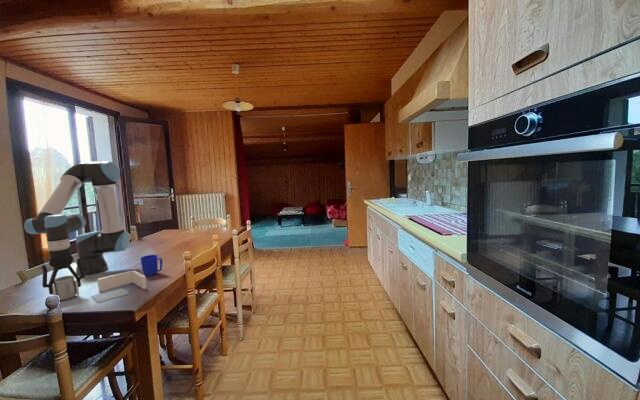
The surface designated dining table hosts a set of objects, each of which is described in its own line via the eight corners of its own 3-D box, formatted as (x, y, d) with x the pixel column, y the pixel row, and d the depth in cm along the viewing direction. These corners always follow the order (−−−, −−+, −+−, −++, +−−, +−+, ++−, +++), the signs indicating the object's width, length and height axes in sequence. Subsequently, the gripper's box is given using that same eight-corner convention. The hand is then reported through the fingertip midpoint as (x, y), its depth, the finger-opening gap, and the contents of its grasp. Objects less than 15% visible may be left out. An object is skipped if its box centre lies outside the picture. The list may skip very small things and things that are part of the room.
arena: (98, 290, 143) (97, 278, 143) (135, 280, 155) (133, 269, 155) (108, 299, 132) (106, 286, 132) (146, 288, 144) (145, 276, 144)
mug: (157, 277, 160) (155, 259, 159) (138, 276, 162) (136, 258, 161) (168, 271, 168) (166, 254, 167) (150, 271, 170) (148, 254, 169)
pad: (91, 296, 137) (91, 295, 137) (121, 288, 146) (121, 287, 146) (98, 303, 129) (97, 302, 129) (129, 293, 138) (129, 293, 138)
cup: (70, 292, 141) (68, 274, 140) (83, 295, 137) (80, 277, 136) (52, 299, 135) (49, 280, 134) (64, 302, 131) (62, 282, 130)
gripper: (29, 255, 123) (37, 307, 126) (89, 244, 138) (95, 291, 141) (27, 252, 128) (35, 303, 131) (85, 242, 143) (91, 288, 146)
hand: (66, 297), depth 136 cm, fingers closed on cup, 7 cm apart
